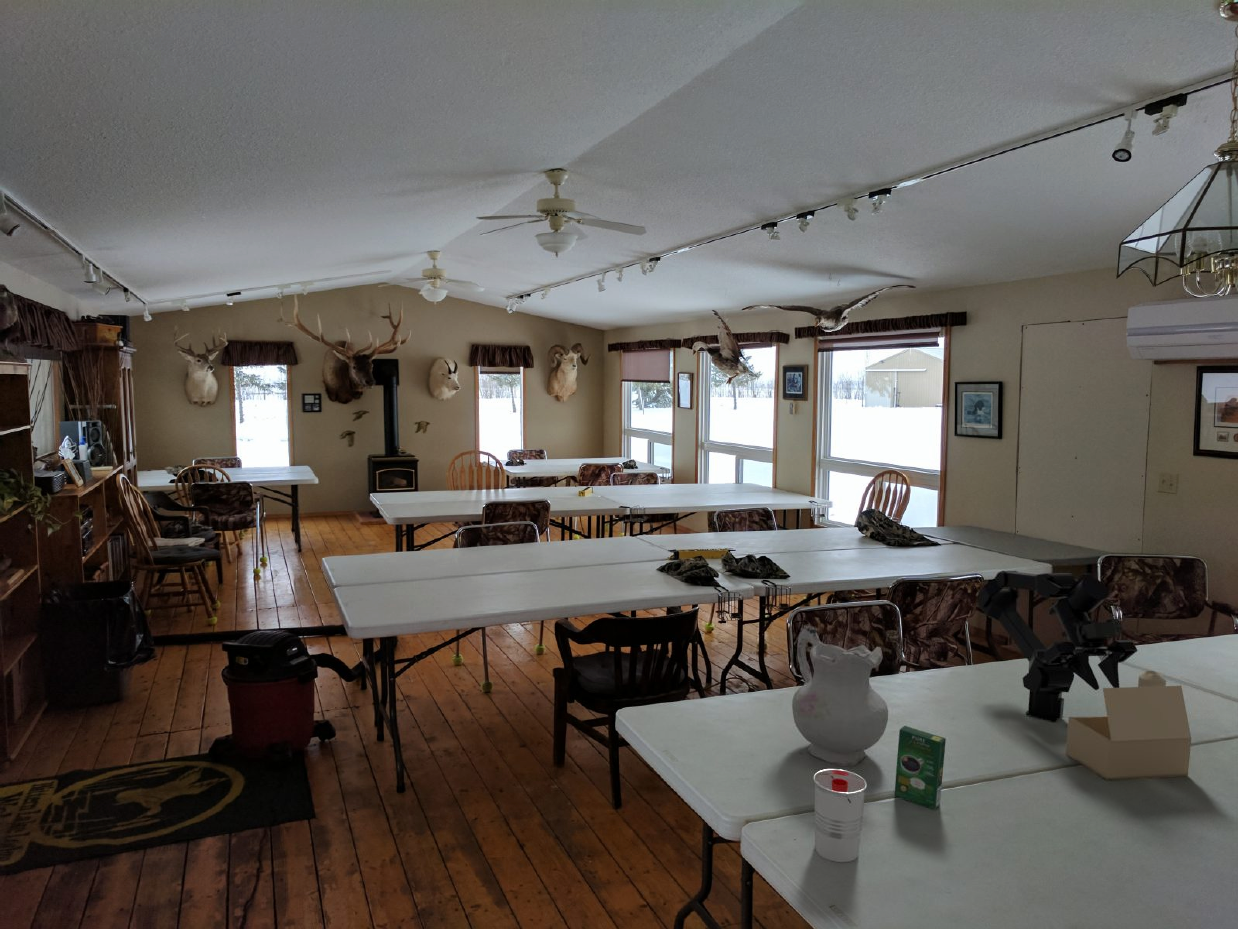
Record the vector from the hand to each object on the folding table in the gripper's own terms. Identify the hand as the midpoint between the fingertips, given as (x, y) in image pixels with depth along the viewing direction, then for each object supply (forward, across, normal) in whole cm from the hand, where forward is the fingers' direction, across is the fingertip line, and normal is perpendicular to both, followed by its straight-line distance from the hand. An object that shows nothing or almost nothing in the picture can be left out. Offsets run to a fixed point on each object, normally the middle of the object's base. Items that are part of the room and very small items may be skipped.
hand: (1107, 689), depth 179 cm
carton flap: (+8, 0, -7) cm, 11 cm away
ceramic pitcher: (+6, -58, +14) cm, 60 cm away
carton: (+14, 0, +5) cm, 15 cm away
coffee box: (+22, -51, -2) cm, 55 cm away
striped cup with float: (+32, -73, -12) cm, 80 cm away
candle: (-3, +27, +23) cm, 35 cm away
